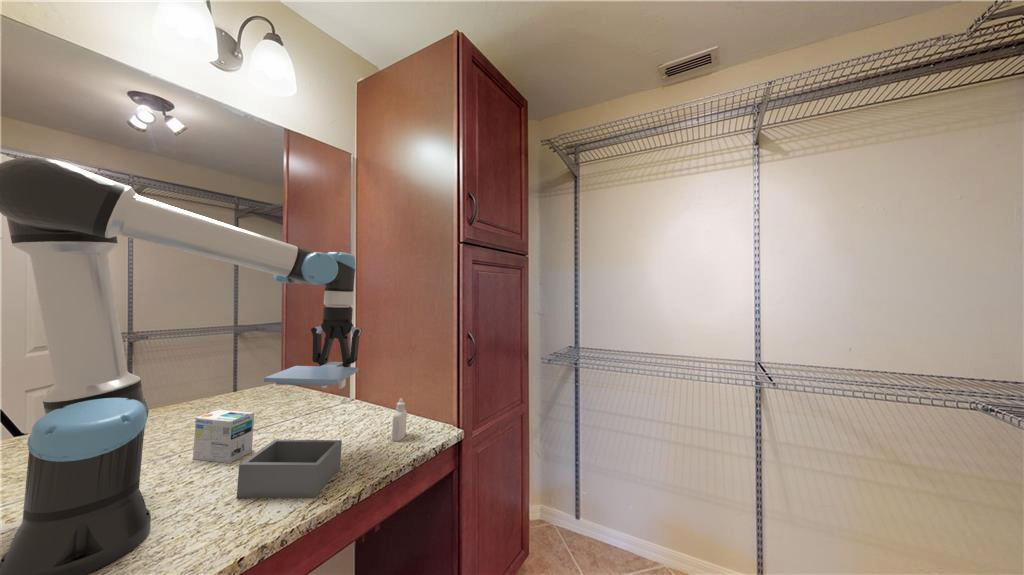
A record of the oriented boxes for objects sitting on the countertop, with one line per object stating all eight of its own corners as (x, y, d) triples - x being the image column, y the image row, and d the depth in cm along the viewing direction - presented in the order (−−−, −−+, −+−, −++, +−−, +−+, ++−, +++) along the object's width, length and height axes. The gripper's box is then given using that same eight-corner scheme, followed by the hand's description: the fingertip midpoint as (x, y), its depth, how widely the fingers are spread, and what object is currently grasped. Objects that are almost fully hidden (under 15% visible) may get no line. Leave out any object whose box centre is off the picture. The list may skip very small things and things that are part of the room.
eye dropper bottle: (386, 438, 100) (388, 399, 100) (401, 432, 104) (404, 395, 105) (395, 442, 97) (397, 402, 98) (410, 436, 102) (413, 398, 102)
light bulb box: (253, 451, 88) (256, 411, 88) (229, 464, 81) (232, 421, 81) (217, 447, 89) (220, 408, 89) (190, 460, 82) (194, 417, 82)
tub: (236, 498, 69) (239, 464, 69) (272, 467, 80) (275, 439, 81) (315, 497, 70) (318, 464, 70) (340, 468, 82) (341, 440, 82)
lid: (263, 388, 76) (264, 377, 76) (307, 369, 94) (307, 361, 94) (337, 390, 77) (337, 379, 77) (366, 371, 96) (366, 362, 96)
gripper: (373, 306, 98) (368, 384, 98) (314, 304, 97) (309, 382, 96) (363, 308, 91) (359, 391, 90) (300, 305, 89) (294, 390, 89)
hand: (333, 387), depth 93 cm, fingers closed on lid, 4 cm apart
